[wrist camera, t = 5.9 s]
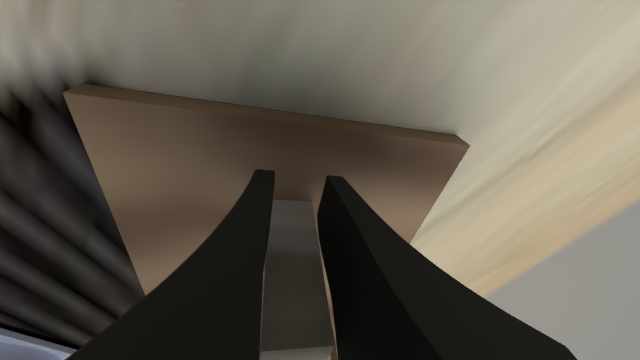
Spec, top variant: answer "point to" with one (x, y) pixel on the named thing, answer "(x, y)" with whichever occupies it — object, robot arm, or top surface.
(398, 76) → the top surface
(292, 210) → the grey handled cream block
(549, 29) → the top surface
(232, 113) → the walnut shelf
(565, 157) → the top surface
